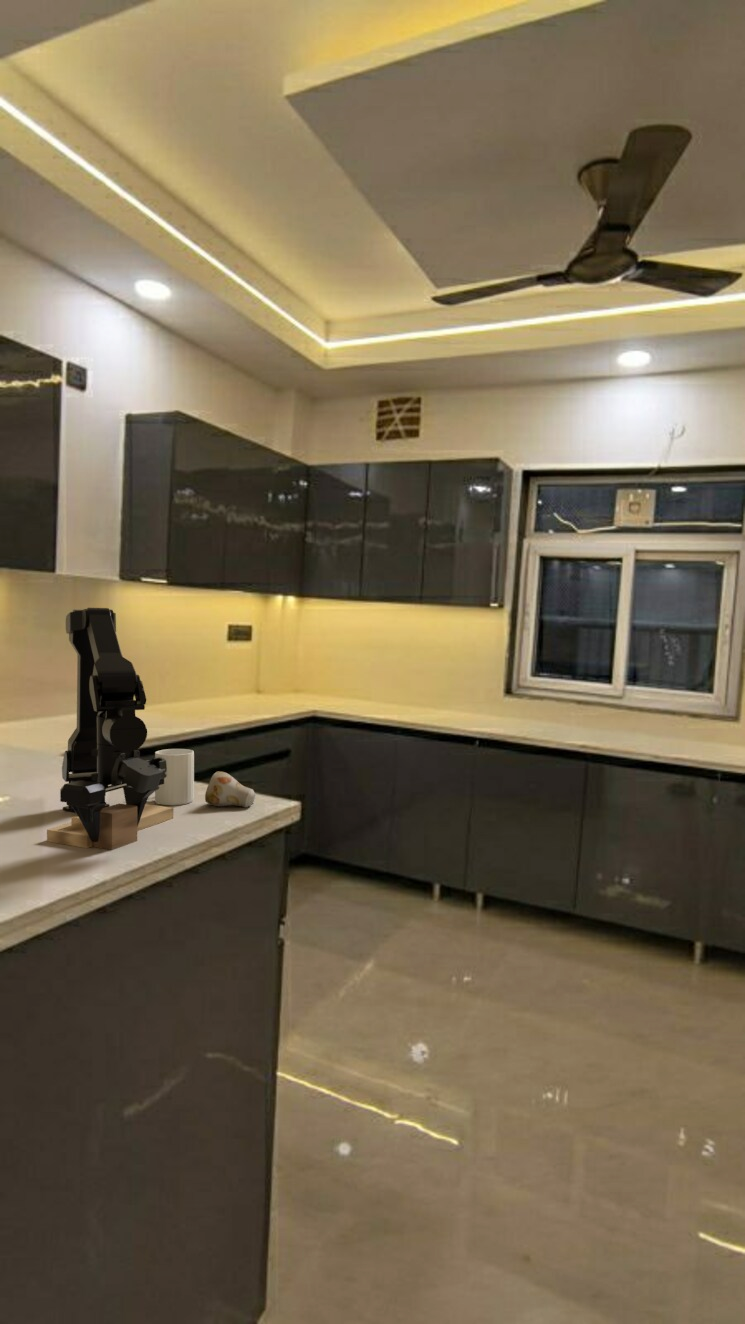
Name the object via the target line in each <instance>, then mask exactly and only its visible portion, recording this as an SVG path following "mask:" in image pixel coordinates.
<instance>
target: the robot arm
mask: <svg viewBox="0 0 745 1324" xmlns="http://www.w3.org/2000/svg"><path fill="white" fill-rule="evenodd" d="M116 616H117V615H116V612H114V611H113V609H110V608H108V607H87V608H83V609H72V611H70V612H69V613H67V615H66V616H65V633H66V634H68V641H69V643H70V644H71V647H73V650H74V651H75V653H76V654H77V658H76V659H77V660H76V661H77V666H76V667H77V668H76V669H77V674H76V677H77V678H76V679H77V680H76V727H75V729H74V730H73V732H72V734H71V735H70V737H69V739H68V740H67V750H65V751H64V754H63V759H62V765H61V776H62V779H63V780H64V782H66V783H64V784H63V786H62V787H61V788H60V790H59V791H60V793H59V794H60V795H59V796H60V797H59V798H60V800H59V801H60V803H61V802H62V803H66V804H65V805H66V806H62V810H63V811H68V812H75V815H76V814H77V815H78V817H79V818H80V820H81V822H82V824H83V826H84V828H85V830H86V831H87V833H88V835H89V837H90V839H91V841H92V842H98V839H99V831H100V811H101V810H102V808H105V807H109V806H111V804H110V803H107V801H106V794H107V793H109V792H113V791H116V790H119V789H122V790H123V794H124V795H123V796H124V800H125V804H127V805H134V806H137V827H138V824H139V821H140V818H141V815H142V812H143V809H144V807H145V804H147V801H148V800H149V797H150V796H151V795H153V794H154V793H155V791H156V790H158V789H159V787H158V785H162V784H164V778H166V776H167V774H166V771H167V766H166V760H165V759H163V758H162V757H157V758H155V757H154V758H152V759H151V760H149V759H146V760H144V759H143V758H141V756H140V754H141V751H140V750H139V749H140V748H141V747H142V746H143V745H144V744H145V743H146V740H147V738H148V729H147V726H146V724H145V722H144V721H143V720H142V719H141V718H140V717H138V716H136V711H143V710H144V711H145V708H146V707H145V705H146V704H147V696H146V693H145V688H144V684H143V681H142V680H141V677H140V675H139V674H137V673H136V672H137V671H136V669H135V666H134V665H133V662H131V660H128V659H127V658H125V657H123V654H122V650H121V647H120V643H119V639H118V636H117V633H116V632H117V617H116Z"/></svg>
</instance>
